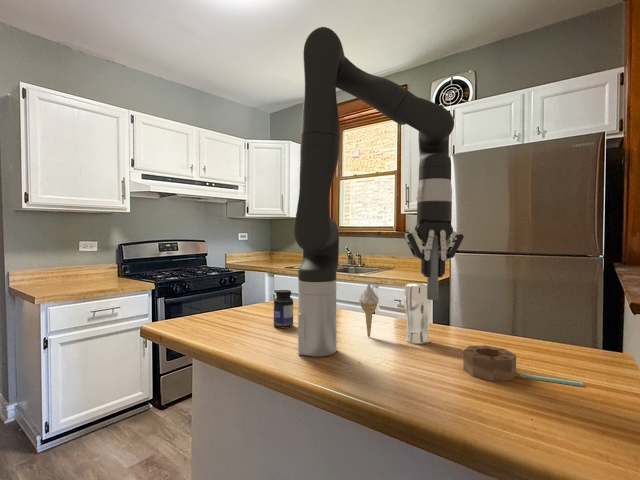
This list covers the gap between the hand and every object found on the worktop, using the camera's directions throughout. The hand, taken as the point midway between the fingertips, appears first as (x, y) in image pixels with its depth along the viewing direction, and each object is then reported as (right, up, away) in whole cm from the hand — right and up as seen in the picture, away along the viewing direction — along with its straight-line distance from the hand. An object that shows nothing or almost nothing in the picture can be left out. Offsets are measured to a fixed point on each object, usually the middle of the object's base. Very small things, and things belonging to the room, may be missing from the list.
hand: (433, 276), depth 79 cm
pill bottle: (-37, -19, +29) cm, 51 cm away
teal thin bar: (+18, -19, -13) cm, 29 cm away
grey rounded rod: (0, -5, 0) cm, 5 cm away
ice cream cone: (-12, -19, +17) cm, 28 cm away
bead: (+9, -19, -8) cm, 22 cm away
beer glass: (0, -19, +13) cm, 23 cm away
